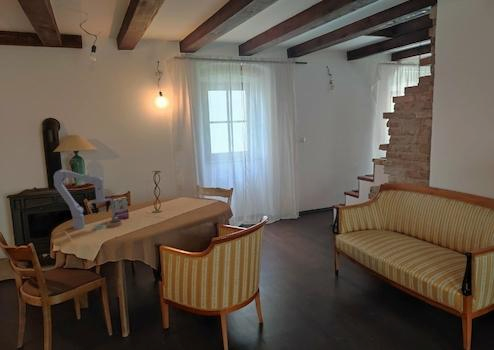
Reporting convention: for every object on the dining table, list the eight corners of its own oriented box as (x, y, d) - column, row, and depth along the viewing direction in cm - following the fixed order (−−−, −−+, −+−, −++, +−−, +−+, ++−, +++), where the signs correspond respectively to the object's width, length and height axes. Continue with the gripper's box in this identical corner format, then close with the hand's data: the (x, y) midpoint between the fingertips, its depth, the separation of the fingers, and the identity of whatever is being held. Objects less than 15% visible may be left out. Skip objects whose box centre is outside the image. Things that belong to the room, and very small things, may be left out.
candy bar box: (125, 217, 291) (123, 196, 289) (129, 218, 288) (127, 197, 286) (112, 220, 283) (110, 199, 281) (115, 221, 280) (113, 200, 277)
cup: (106, 225, 268) (106, 221, 267) (119, 223, 273) (119, 218, 273) (109, 228, 260) (109, 224, 260) (123, 226, 265) (123, 221, 265)
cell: (111, 225, 267) (110, 217, 266) (117, 224, 270) (116, 216, 269) (113, 226, 264) (112, 218, 263) (118, 225, 266) (118, 217, 265)
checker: (90, 228, 262) (89, 226, 262) (104, 226, 268) (104, 223, 267) (93, 232, 254) (93, 229, 253) (108, 229, 259) (107, 226, 259)
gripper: (90, 196, 256) (92, 215, 258) (111, 193, 264) (113, 211, 266) (88, 194, 262) (90, 213, 264) (109, 192, 270) (111, 210, 272)
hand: (101, 212), depth 265 cm, fingers open, 7 cm apart
